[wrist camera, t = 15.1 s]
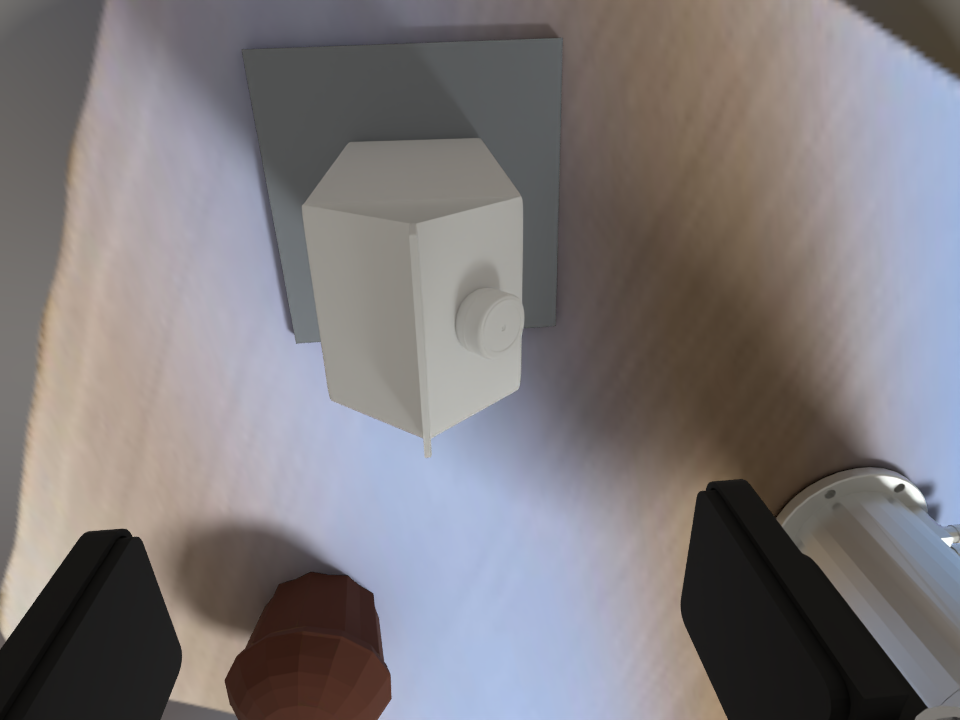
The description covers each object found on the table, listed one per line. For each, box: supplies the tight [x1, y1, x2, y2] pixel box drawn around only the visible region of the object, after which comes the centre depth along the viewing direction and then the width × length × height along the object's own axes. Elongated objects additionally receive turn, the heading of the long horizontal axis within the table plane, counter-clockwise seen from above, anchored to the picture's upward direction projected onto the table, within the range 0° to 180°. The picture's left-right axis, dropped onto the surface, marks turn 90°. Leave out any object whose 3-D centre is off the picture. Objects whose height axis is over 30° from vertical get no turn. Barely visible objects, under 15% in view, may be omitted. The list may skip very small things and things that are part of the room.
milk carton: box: [302, 138, 524, 458], centre depth 26 cm, size 7×7×19 cm
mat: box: [242, 38, 563, 344], centre depth 35 cm, size 16×16×1 cm
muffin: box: [225, 572, 391, 720], centre depth 45 cm, size 12×11×10 cm
